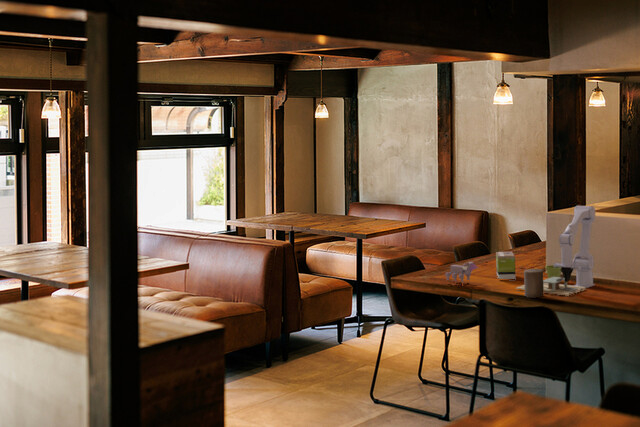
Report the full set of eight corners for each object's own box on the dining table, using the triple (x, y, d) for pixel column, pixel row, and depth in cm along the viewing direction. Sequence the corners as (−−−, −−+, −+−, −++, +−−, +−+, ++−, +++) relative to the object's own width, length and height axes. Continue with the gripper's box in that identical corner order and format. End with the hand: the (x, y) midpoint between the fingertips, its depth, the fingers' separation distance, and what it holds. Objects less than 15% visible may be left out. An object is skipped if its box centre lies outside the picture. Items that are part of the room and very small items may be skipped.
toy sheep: (484, 284, 452) (482, 261, 450) (473, 289, 444) (472, 265, 442) (454, 281, 465) (453, 258, 463) (443, 285, 458) (442, 262, 456)
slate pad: (565, 287, 427) (565, 287, 427) (578, 289, 422) (578, 288, 422) (559, 290, 422) (559, 289, 422) (571, 291, 417) (571, 291, 417)
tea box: (496, 275, 476) (495, 251, 474) (513, 275, 475) (513, 251, 473) (498, 280, 461) (497, 255, 460) (516, 280, 460) (515, 255, 458)
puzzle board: (534, 283, 448) (534, 281, 448) (585, 289, 428) (585, 287, 427) (516, 290, 434) (516, 287, 434) (567, 296, 413) (567, 293, 413)
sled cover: (553, 285, 435) (553, 274, 434) (567, 286, 429) (567, 276, 429) (540, 289, 425) (540, 279, 424) (554, 291, 419) (554, 280, 419)
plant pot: (556, 284, 445) (556, 268, 444) (542, 282, 452) (542, 267, 452) (566, 281, 452) (565, 266, 451) (551, 279, 459) (551, 264, 458)
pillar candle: (547, 296, 415) (546, 268, 413) (530, 298, 412) (530, 270, 410) (537, 293, 424) (536, 265, 422) (520, 295, 421) (520, 267, 420)
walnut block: (552, 290, 430) (552, 281, 430) (559, 291, 427) (559, 282, 427) (548, 291, 427) (548, 282, 427) (555, 292, 424) (555, 283, 424)
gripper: (550, 256, 422) (550, 281, 424) (576, 258, 412) (576, 284, 413) (556, 254, 427) (557, 279, 429) (582, 256, 417) (582, 282, 419)
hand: (567, 281), depth 421 cm, fingers closed
